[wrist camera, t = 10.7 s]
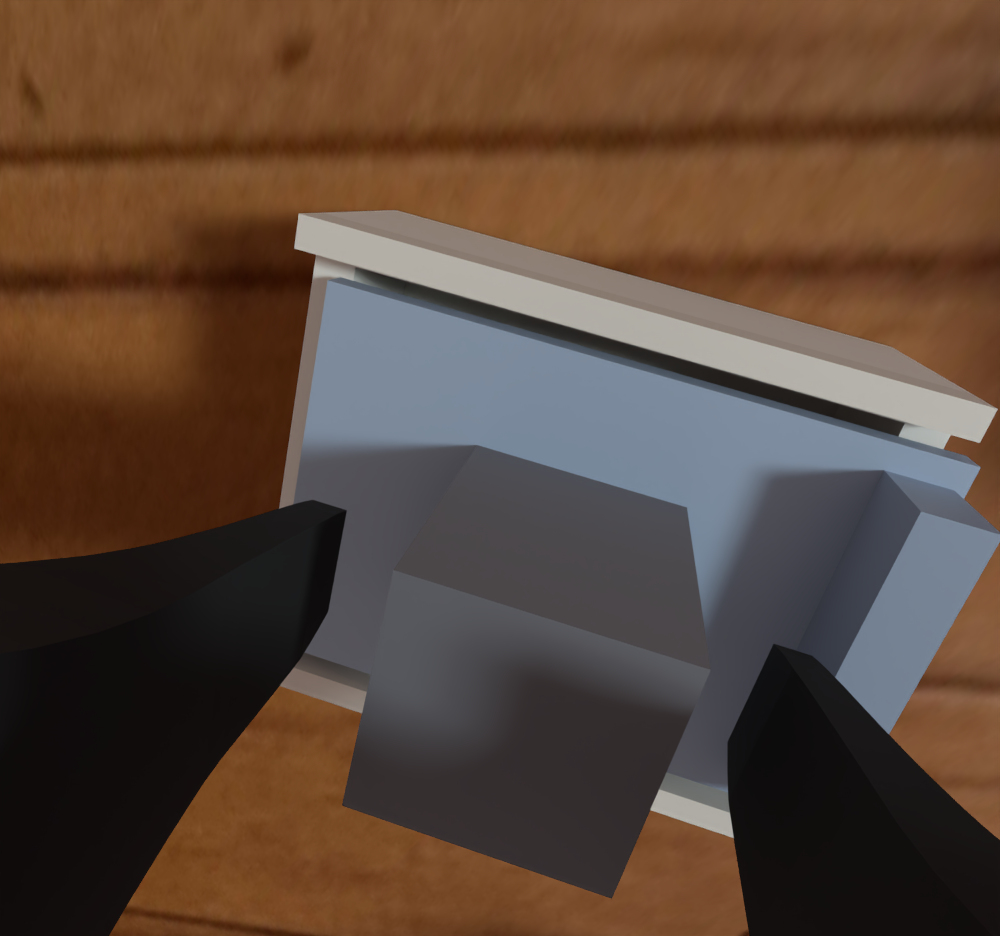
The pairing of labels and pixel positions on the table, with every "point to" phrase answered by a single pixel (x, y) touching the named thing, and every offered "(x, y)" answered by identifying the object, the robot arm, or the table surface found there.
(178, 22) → the table surface
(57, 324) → the table surface
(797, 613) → the lid
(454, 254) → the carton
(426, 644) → the rubber block
